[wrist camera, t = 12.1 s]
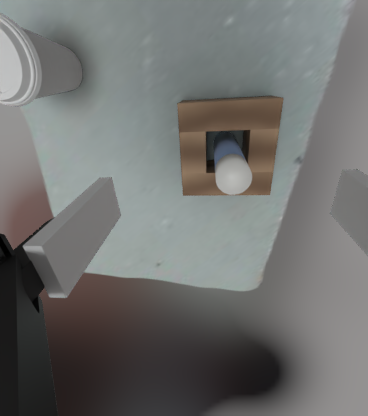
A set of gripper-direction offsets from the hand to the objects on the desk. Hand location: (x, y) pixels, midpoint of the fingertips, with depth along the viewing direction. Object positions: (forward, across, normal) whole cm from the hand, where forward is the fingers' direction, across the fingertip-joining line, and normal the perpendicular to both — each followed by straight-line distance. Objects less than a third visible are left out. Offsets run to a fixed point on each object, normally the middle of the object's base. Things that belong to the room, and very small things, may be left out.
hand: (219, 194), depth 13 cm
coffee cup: (+30, -25, +9) cm, 40 cm away
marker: (+30, +2, -4) cm, 30 cm away
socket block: (+30, +2, -4) cm, 30 cm away
